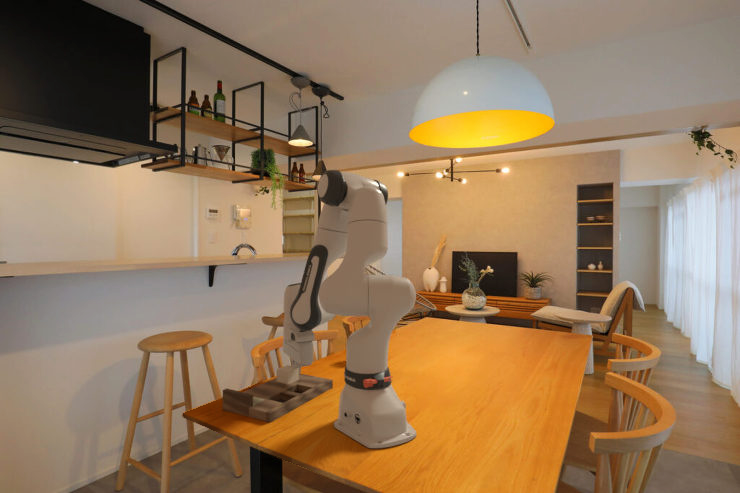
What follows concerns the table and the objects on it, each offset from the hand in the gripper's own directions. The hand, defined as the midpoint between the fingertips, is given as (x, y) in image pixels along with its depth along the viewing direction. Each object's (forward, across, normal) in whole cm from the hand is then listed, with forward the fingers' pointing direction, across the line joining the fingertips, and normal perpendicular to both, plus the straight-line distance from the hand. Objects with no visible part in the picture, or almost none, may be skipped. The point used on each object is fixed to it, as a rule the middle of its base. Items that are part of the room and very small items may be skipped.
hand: (296, 372), depth 137 cm
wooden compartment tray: (+4, +9, -8) cm, 12 cm away
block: (+2, +2, -4) cm, 4 cm away
